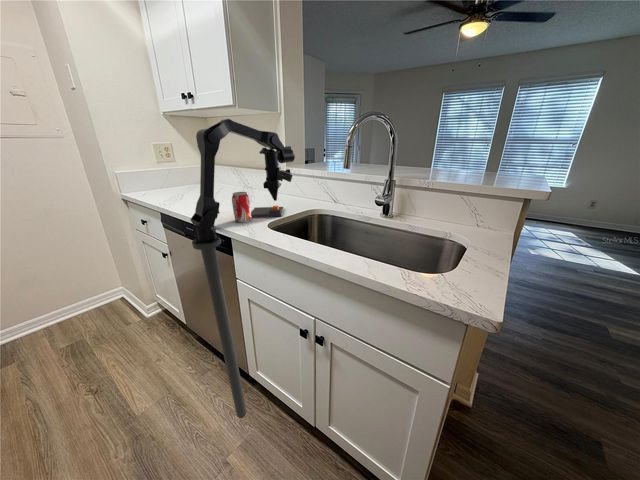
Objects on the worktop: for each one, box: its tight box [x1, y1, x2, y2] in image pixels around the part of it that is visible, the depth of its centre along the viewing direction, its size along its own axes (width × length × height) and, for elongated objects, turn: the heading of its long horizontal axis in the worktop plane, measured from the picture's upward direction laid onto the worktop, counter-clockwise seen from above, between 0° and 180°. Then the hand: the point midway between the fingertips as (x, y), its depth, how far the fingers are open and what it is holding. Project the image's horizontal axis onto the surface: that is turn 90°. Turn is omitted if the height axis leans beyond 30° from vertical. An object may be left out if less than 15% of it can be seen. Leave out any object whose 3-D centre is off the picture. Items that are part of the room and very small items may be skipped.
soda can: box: [231, 191, 252, 223], centre depth 110 cm, size 7×7×12 cm
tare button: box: [272, 205, 280, 210], centre depth 117 cm, size 3×3×2 cm
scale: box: [251, 206, 285, 219], centre depth 121 cm, size 14×12×3 cm
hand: (275, 200), depth 116 cm, fingers closed
